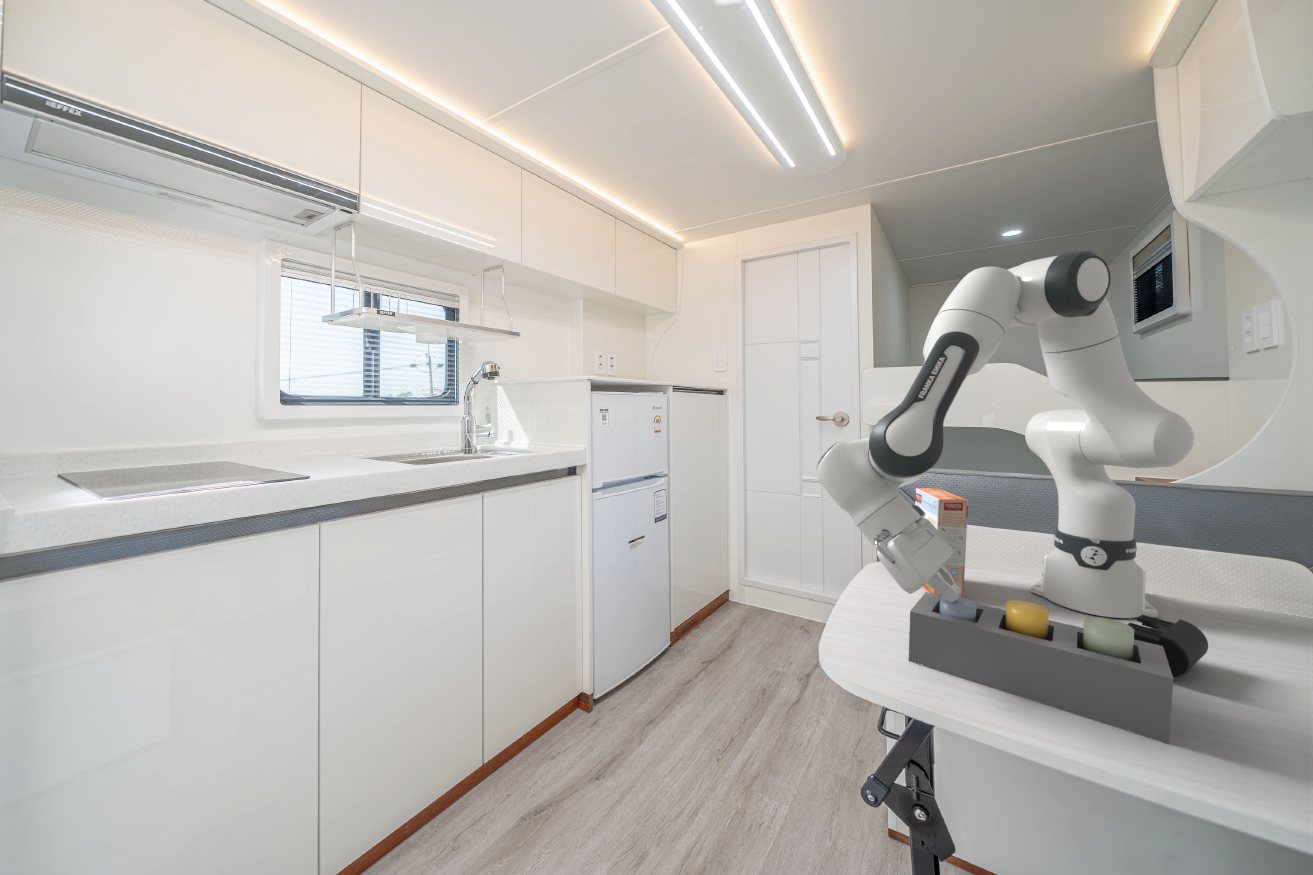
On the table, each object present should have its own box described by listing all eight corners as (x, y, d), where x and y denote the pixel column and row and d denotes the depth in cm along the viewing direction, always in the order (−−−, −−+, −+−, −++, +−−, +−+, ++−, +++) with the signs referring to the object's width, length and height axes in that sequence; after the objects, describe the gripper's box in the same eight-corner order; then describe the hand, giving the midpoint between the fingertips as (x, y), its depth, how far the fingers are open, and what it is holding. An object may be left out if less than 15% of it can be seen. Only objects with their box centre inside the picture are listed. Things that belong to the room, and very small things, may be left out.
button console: (924, 637, 83) (925, 591, 82) (1158, 703, 64) (1162, 645, 63) (908, 660, 75) (910, 610, 75) (1168, 743, 57) (1173, 678, 56)
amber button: (1007, 619, 72) (1008, 597, 72) (1048, 629, 69) (1049, 606, 69) (1003, 631, 69) (1004, 607, 69) (1046, 642, 66) (1047, 617, 65)
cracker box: (965, 601, 98) (969, 499, 96) (933, 598, 99) (937, 498, 97) (939, 576, 111) (943, 487, 110) (911, 575, 112) (914, 486, 111)
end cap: (1187, 690, 67) (1190, 643, 67) (1119, 666, 73) (1122, 623, 73) (1207, 670, 72) (1210, 626, 72) (1142, 649, 78) (1144, 609, 78)
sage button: (1082, 637, 67) (1084, 613, 67) (1131, 649, 64) (1132, 623, 63) (1082, 651, 63) (1084, 625, 63) (1134, 664, 60) (1135, 637, 60)
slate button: (942, 614, 78) (943, 593, 78) (977, 622, 75) (978, 601, 75) (936, 624, 75) (936, 602, 74) (972, 633, 71) (973, 611, 71)
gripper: (886, 526, 71) (961, 609, 65) (921, 504, 86) (984, 569, 80) (855, 550, 74) (923, 630, 68) (894, 524, 89) (952, 589, 84)
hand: (956, 597), depth 75 cm, fingers closed, pressing on slate button
